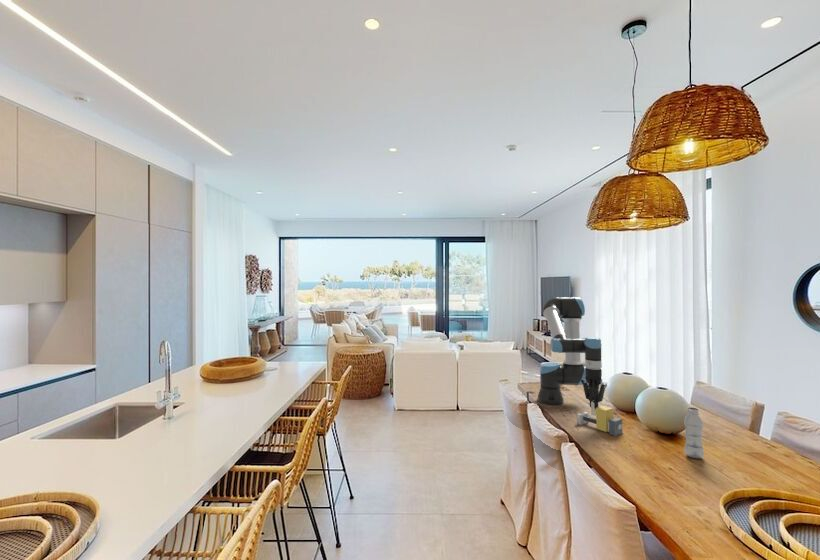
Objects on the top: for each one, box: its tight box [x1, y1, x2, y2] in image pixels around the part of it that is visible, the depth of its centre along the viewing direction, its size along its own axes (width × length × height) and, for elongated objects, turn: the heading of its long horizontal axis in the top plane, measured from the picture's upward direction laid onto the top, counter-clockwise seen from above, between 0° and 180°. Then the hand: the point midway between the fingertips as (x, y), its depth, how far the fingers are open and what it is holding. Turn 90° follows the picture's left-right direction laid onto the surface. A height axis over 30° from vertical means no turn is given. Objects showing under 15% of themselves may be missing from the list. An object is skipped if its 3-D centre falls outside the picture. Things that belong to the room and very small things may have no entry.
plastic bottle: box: [683, 407, 705, 459], centre depth 158 cm, size 6×7×20 cm
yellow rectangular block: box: [595, 405, 614, 433], centre depth 188 cm, size 6×5×10 cm
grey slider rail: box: [576, 411, 623, 437], centre depth 190 cm, size 7×21×7 cm, turn 31°
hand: (594, 414), depth 193 cm, fingers closed
